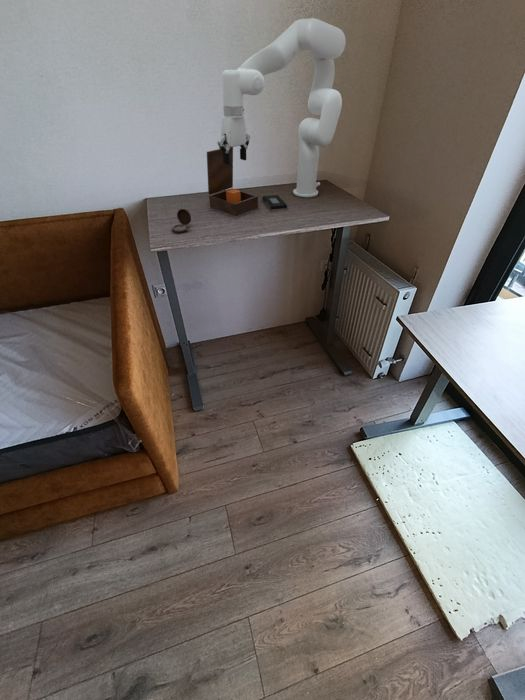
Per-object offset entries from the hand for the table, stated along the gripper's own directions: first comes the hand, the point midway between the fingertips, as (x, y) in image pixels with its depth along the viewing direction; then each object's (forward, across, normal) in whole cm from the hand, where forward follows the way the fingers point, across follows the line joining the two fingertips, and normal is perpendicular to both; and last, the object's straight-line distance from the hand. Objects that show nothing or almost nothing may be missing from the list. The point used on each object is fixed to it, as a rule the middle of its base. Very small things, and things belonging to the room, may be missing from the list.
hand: (235, 161), depth 140 cm
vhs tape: (+19, -16, +9) cm, 26 cm away
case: (+19, +1, -1) cm, 19 cm away
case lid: (+5, +1, -8) cm, 9 cm away
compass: (+20, +31, +1) cm, 37 cm away
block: (+19, +1, -1) cm, 19 cm away
